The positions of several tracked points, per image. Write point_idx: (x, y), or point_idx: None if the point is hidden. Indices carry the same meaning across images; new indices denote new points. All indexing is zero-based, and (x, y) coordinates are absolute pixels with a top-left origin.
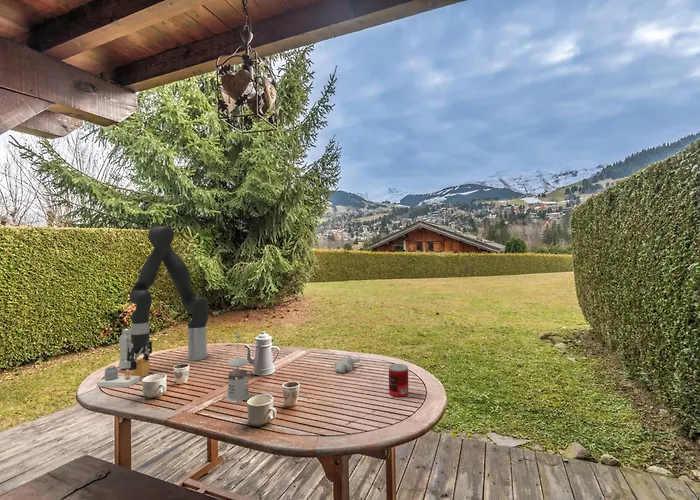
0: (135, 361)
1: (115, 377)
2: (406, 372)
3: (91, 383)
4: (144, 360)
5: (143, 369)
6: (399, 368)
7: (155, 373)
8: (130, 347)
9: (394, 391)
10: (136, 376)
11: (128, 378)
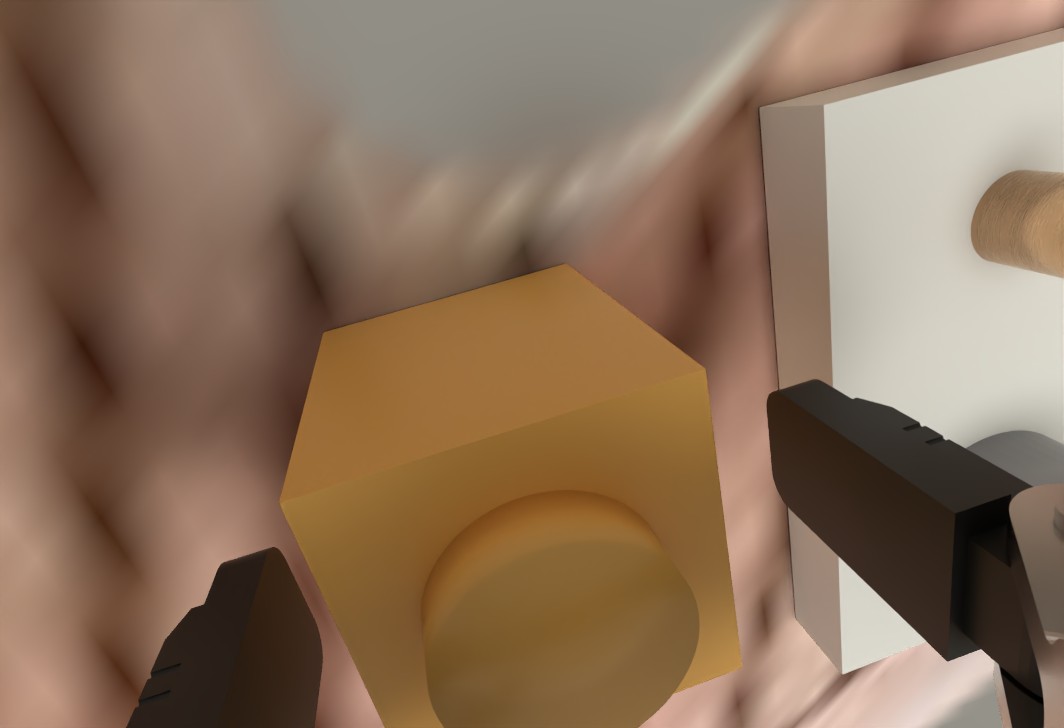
0: (1040, 487)
1: (1047, 446)
2: None
3: (925, 692)
4: (505, 543)
5: (578, 316)
6: None
7: (281, 153)
8: None
9: None
10: (863, 164)
11: (1053, 174)
